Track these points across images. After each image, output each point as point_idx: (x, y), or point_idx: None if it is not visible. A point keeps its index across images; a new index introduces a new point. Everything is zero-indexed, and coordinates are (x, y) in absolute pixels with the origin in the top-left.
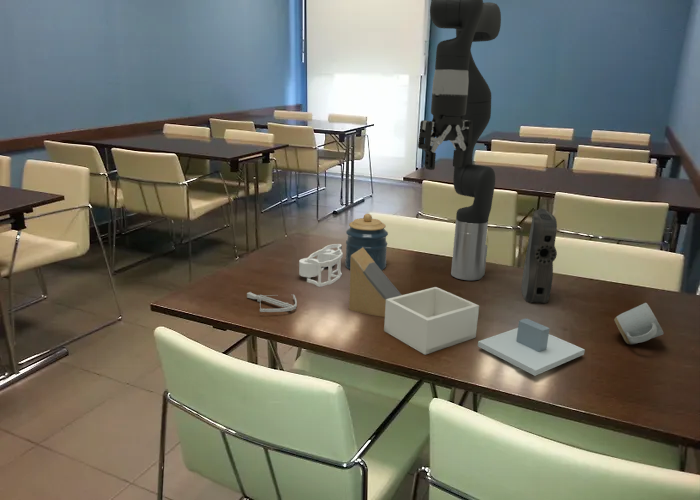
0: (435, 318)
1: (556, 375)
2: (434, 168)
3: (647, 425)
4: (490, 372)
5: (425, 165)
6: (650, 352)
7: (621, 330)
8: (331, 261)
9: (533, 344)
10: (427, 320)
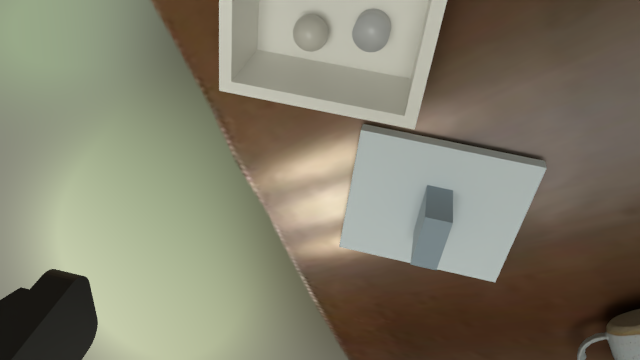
0: (246, 95)
1: None
2: (91, 342)
3: (348, 353)
4: (302, 177)
5: (9, 303)
6: None
7: (610, 331)
8: None
9: (416, 226)
10: (219, 89)
